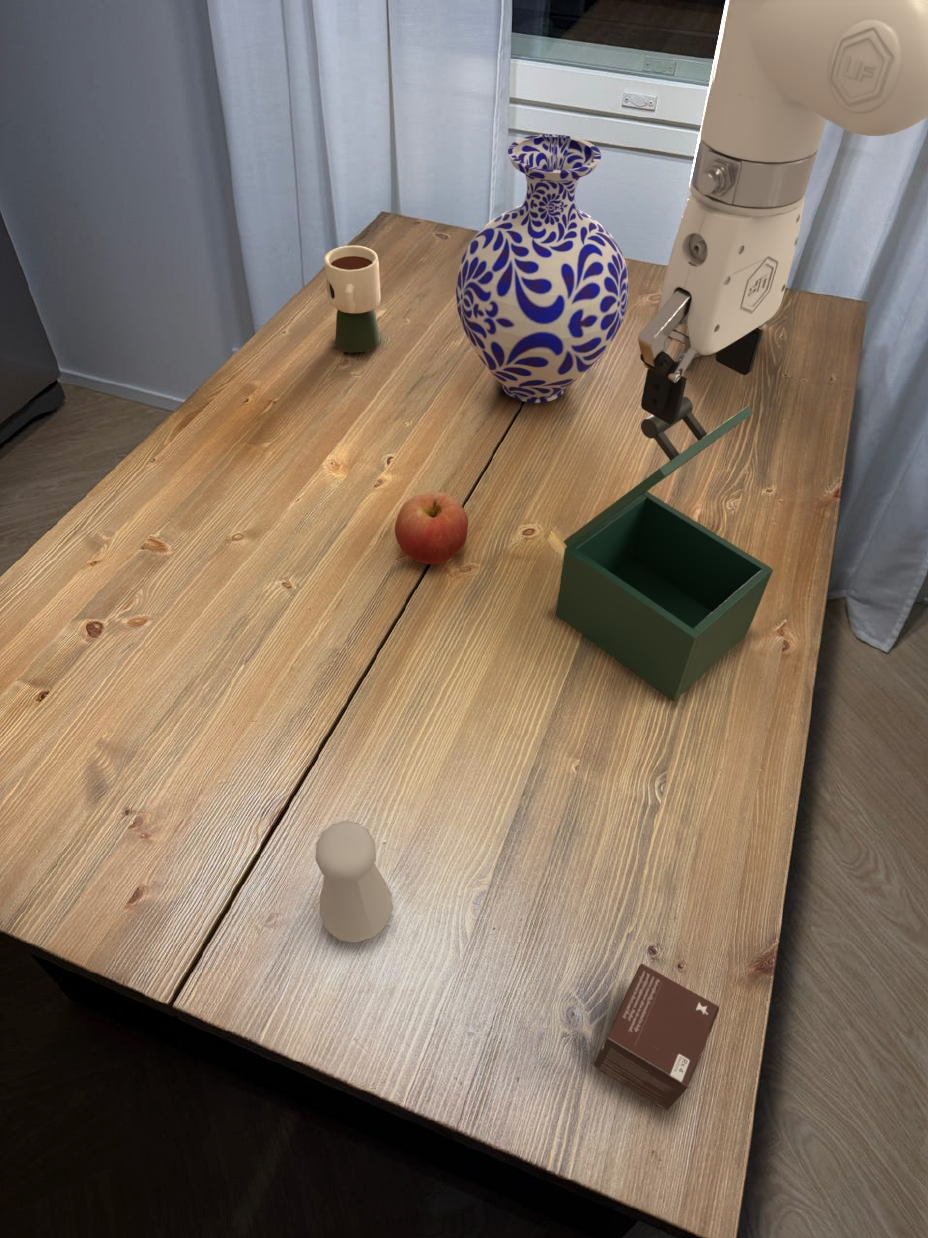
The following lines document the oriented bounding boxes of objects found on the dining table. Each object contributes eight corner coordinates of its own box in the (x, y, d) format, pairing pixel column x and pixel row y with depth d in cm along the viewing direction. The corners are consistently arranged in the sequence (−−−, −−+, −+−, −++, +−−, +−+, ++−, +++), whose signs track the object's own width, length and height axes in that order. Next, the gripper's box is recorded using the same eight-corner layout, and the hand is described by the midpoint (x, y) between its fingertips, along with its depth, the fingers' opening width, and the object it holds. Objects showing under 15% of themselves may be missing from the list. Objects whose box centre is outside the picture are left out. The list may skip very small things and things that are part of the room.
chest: (747, 634, 93) (773, 569, 85) (673, 702, 87) (694, 638, 80) (630, 556, 100) (645, 490, 93) (555, 614, 94) (564, 548, 87)
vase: (606, 441, 114) (647, 205, 91) (440, 420, 116) (440, 184, 93) (617, 349, 127) (655, 124, 105) (469, 332, 130) (475, 108, 107)
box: (625, 994, 69) (641, 959, 63) (699, 1037, 67) (722, 1005, 61) (591, 1067, 65) (605, 1037, 60) (667, 1114, 63) (689, 1088, 58)
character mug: (337, 323, 130) (328, 237, 121) (386, 325, 130) (381, 238, 121) (328, 366, 123) (319, 277, 114) (380, 367, 123) (374, 279, 114)
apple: (482, 545, 101) (484, 491, 95) (442, 587, 96) (442, 534, 90) (424, 517, 104) (423, 464, 98) (383, 558, 99) (379, 504, 93)
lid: (754, 412, 78) (720, 366, 78) (665, 476, 72) (628, 426, 72) (648, 489, 92) (620, 450, 92) (567, 548, 86) (537, 506, 86)
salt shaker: (342, 873, 75) (327, 795, 65) (404, 897, 74) (398, 821, 64) (309, 937, 71) (288, 864, 61) (374, 964, 70) (363, 894, 60)
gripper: (719, 230, 53) (666, 458, 66) (870, 151, 61) (796, 369, 74) (622, 188, 56) (589, 413, 69) (776, 119, 64) (721, 332, 77)
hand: (696, 390), depth 71 cm, fingers open, 9 cm apart
